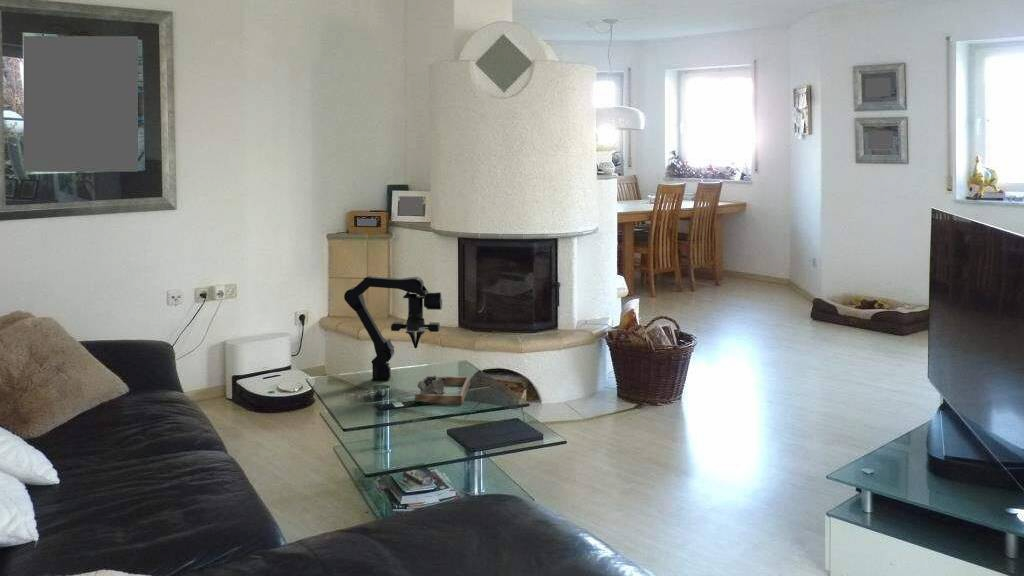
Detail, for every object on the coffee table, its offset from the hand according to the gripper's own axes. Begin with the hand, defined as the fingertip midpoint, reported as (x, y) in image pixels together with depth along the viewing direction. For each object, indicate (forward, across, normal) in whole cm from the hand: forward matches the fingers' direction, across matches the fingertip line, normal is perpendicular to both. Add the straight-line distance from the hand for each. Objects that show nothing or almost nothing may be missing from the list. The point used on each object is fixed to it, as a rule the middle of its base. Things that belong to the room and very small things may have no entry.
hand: (415, 348), depth 368 cm
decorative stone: (+9, +7, -24) cm, 26 cm away
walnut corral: (+13, +13, -19) cm, 26 cm away
